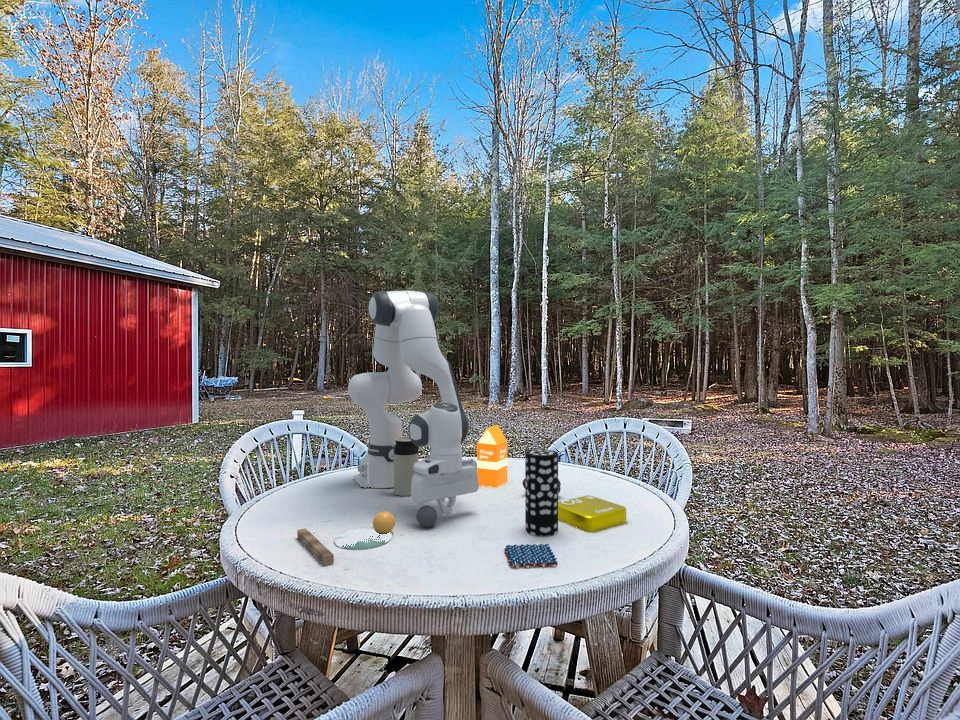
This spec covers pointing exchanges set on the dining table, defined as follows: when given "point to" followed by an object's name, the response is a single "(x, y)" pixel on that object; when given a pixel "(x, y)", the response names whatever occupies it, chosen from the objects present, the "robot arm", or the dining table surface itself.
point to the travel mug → (404, 465)
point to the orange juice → (492, 457)
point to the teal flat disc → (366, 544)
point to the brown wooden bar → (315, 547)
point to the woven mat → (530, 556)
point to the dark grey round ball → (427, 516)
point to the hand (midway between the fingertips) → (446, 513)
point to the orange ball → (383, 522)
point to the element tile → (591, 513)
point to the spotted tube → (541, 492)
